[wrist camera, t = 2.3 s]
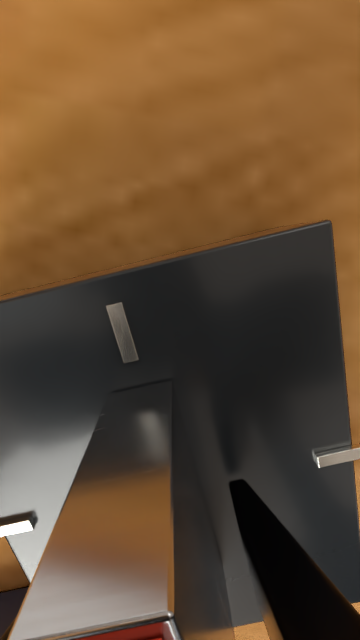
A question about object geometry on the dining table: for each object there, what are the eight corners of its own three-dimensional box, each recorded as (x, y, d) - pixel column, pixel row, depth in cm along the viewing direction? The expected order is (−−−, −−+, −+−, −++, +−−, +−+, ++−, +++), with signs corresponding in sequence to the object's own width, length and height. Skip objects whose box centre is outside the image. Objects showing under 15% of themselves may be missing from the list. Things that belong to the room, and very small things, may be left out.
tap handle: (223, 569, 9) (285, 948, 4) (172, 580, 9) (173, 967, 4) (172, 378, 7) (173, 654, 2) (107, 393, 7) (-20, 693, 2)
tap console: (328, 514, 12) (381, 606, 9) (85, 565, 12) (58, 670, 9) (291, 223, 9) (354, 213, 6) (-32, 303, 9) (-132, 333, 6)
